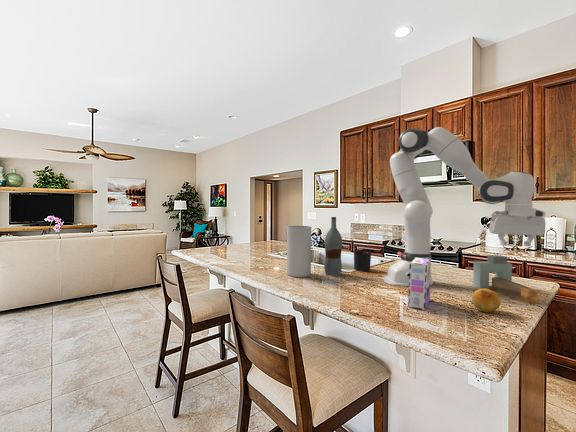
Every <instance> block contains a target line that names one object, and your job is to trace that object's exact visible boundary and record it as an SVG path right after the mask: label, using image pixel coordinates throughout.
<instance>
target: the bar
mask: <svg viewBox="0 0 576 432" xmlns="http://www.w3.org/2000/svg"><path fill="white" fill-rule="evenodd" d="M491 289H492V290H493V291H494V290H495V291H496V292H499V293H502V294H503V295H506V296H509V297H510V298H513V299H515V300H517V301H520V302H522V301H523V302H522V303H524V304H530V303H531V305H533V304H534V305H535V304H538V297H539V290H538V289H535V288H532V287H530V286H529V287H528V286H526V285H523V284H520V283H518V282H514V281H510V280H507V279H504V278H501V277H495V276H494V277H493V276H492V277H491Z"/></svg>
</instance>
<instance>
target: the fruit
mask: <svg viewBox="0 0 576 432" xmlns="http://www.w3.org/2000/svg"><path fill="white" fill-rule="evenodd" d="M500 297H501V296H499V294H498V293H497V292H496V291H494V290H493V289H492V290H491V289H489V288H479V289H477V290H475V291H474V292H473V294H472V296H471V301H472V305H473V306H474V307H475V308H476V309H477V310H478V311H480V312H483V313H492V312H494V311H496V310H497V309H499V308H500V306H501V298H500Z"/></svg>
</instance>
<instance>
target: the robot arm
mask: <svg viewBox="0 0 576 432" xmlns="http://www.w3.org/2000/svg"><path fill="white" fill-rule="evenodd" d="M398 146H399V147H400V149H399V151H397V152H395V153H393V154H392V155H391V156H390V159H389V166H390V171H391V175H392V177H393V181H394V184H395V186H396V190H397V192H398V194H399V196H400V198H401V200H402V202H403V204H404V211H403V218H404V233H405V235H404V236H405V237H404V239H405V240H404V243H405V246H404V252H401V251H398V252H397V254H396V255H397V256H398V257H400V259H399V260H398V261H396V262H395V263H394V264H392V265H390V266H389V267H388V271H387V274H386V275H383V276H382V280H383V282H385V283H387V284H389V285H392V286H399V287H401V286H402V287H409V269H410V263H411V262H412V261H413V260H414V259H415V258H426V259H431V260H432V253H431V242H432V241H431V240H432V235H431V218H432V216H433V207H432V205H431V201H430V200H429V198H428V194H427V192H426V190H425V188H424V186H423V183H422V180H421V178H420V175H419V172H418V169H417V166H416V163H415V160H416V159H417V158H418V157H419V156H421V155H423V154H424V153H425V152H426V150H427V151H430V152H431V153H433V154H434V155H435V156H436V157H437V158H438V159H439V160H440V161H441V162H442V163H443V164H445V165H446V166H448V167H449V168H451V169H453V170H455V171H457V172H458V173H460V174H461V175H463V176H464V177H465V179H466V180H468V181H469V182H470V183H471V185H473V186H474V187H475V189H476V190H477V192H478V196H479V198H480V199H481V201H483V202H484V203H486V204H489V205H496V204H499V203H500V202H504V210H502V211H498V210H496V211H494V212H492V213H491V216H490V217H491V218H490V223H489V228H488V229H489V232H490V233H491V234H493V235H494V234H495V235H497V237H498V239H499V241H500V245H501V246H507V245H508V240H505V237H506V235H514V236H515V235H516V236H517V235H518V236H520V235H521V236H526V238H527V239H526V240H524V241H523V246H524V247H531V245H532V242H533V241H534V240H535V236H544V234H545V233H546V219H545V217H546V212H545V211H543V210H540V209H537V208H535V207H533V206H534V204H533V200H532V199H533V196H534V194H535V193H534V192H535V181H534V177H533V175H532V174H531V173H529V172H526V171H520V170H519V171H518V170H512V171H510V172H509V173H506V174H504V175H502V176H500V177H497V178H493V179H491V178H489V177H488V175H486V174H485V173H484V172H483V171H482V170H481V169H480V168H479V167H478V165H476V163H475V162H474V161H473V158H472V156H471V153H470V151H469V148H468V147H467V146H466V145H465V144H464V142H462V140H461V139H460V138H458V136H456V135H455V134H454V133H453V132H451V131H449V130H448V129H446V128H444V127H443V126H436V127H433V128H432V129H431V130H429V131H428V132H427V130H421V129H418V128H408V129H406V130H404V131H403V132H401V134H400V135H399V137H398ZM433 284H434V281H433V277H432V274H431V275H430V286H432V285H433Z"/></svg>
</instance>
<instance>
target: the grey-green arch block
mask: <svg viewBox="0 0 576 432" xmlns="http://www.w3.org/2000/svg"><path fill="white" fill-rule="evenodd" d="M472 273H473V274H472V275H473V277H472V285H473V286H474V287H477V288H479V289H489V287H490V274H491V273H493V274H494V277H501V278H504V279H507V280H510V281H512V278H513V277H512V276H513V275H512V274H513V263H511V262H508V256H505V255H501V254H498V255H495V254H494V255H493V254H490V255H489V254H487V260H486V261H482V260H479V261H476V260H475V261H473V272H472Z"/></svg>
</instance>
